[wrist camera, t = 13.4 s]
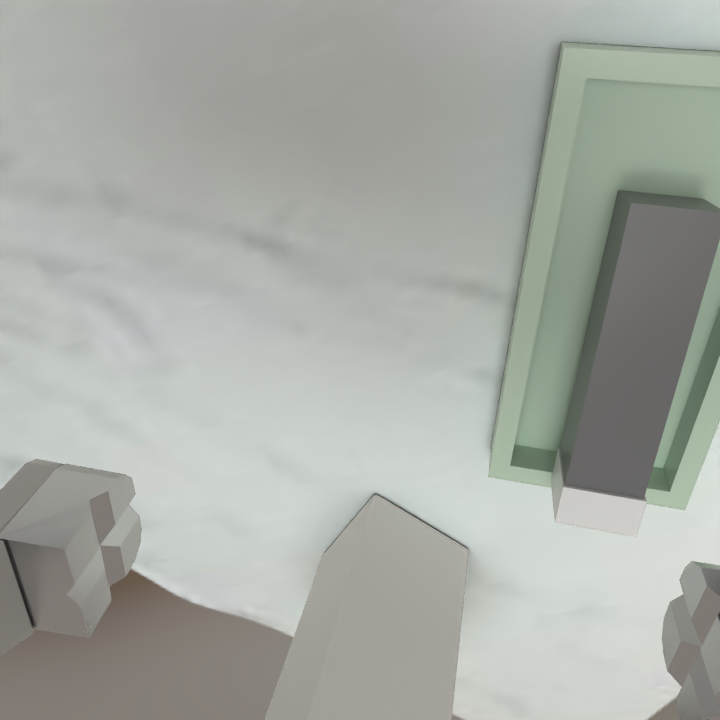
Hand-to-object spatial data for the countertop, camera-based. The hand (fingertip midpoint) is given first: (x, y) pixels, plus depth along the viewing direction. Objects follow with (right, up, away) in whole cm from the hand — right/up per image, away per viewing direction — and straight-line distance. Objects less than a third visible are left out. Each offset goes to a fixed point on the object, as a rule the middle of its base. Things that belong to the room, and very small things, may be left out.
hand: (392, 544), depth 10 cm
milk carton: (+2, -10, +34) cm, 35 cm away
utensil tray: (+12, +6, +22) cm, 26 cm away
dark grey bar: (+12, +3, +22) cm, 25 cm away
